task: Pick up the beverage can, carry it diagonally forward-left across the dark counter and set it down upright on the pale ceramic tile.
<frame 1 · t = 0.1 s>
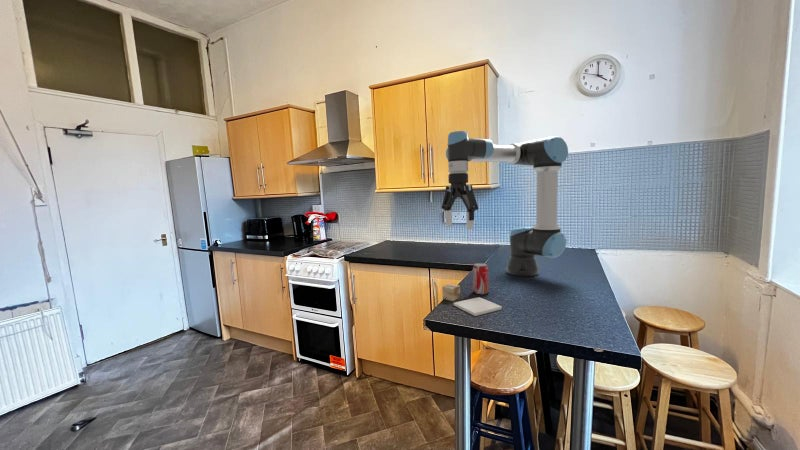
hand: (458, 227, 124), 28 cm above the worktop, fingers open, 13 cm apart
tile: (477, 307, 114), on the worktop
oak block: (451, 298, 125), on the worktop
beverage can: (480, 293, 130), on the worktop
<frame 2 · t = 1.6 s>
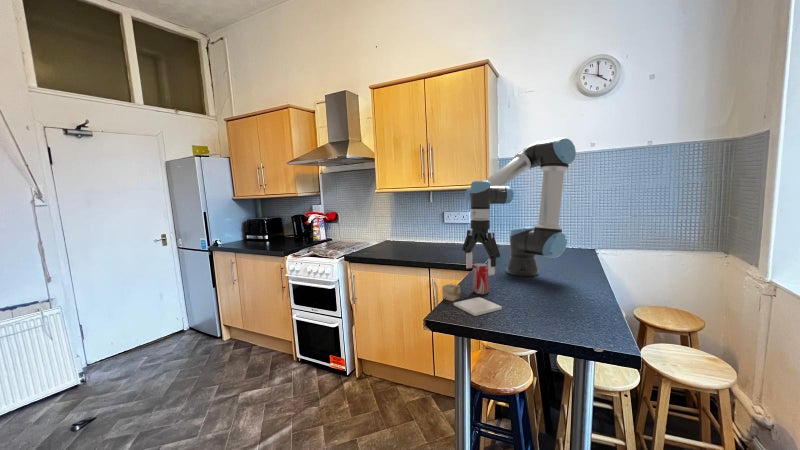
hand: (479, 271, 129), 9 cm above the worktop, fingers open, 13 cm apart
nothing on the worktop moved.
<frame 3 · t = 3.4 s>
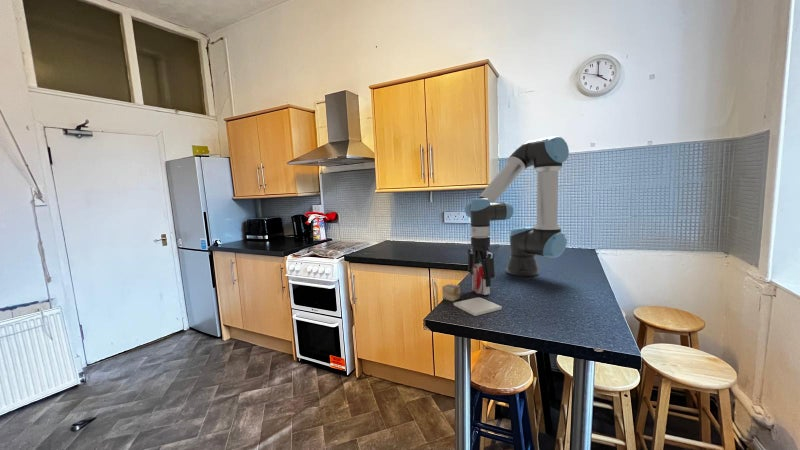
hand: (480, 291, 130), 0 cm above the worktop, fingers closed on beverage can, 6 cm apart
beverage can: (480, 293, 130), on the worktop, touching gripper
everything else where it was.
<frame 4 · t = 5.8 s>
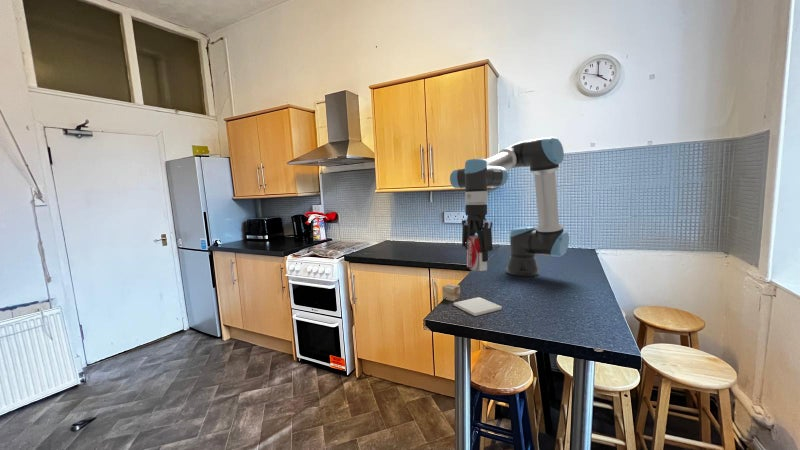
hand: (476, 268, 113), 14 cm above the worktop, fingers closed on beverage can, 6 cm apart
beverage can: (476, 270, 113), point 14 cm above the worktop, touching gripper
everything else where it was.
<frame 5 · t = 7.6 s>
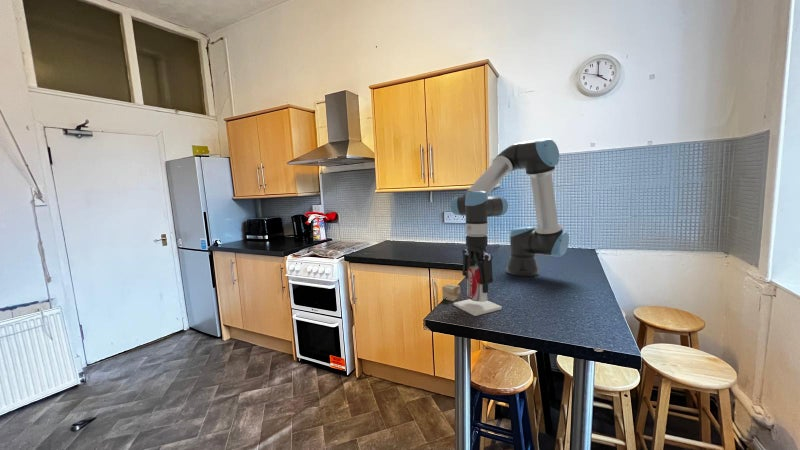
hand: (477, 298, 114), 3 cm above the worktop, fingers closed on beverage can, 6 cm apart
beverage can: (476, 300, 114), point 3 cm above the worktop, touching gripper
everything else where it was.
when the fingers open (2 cm above the worktop, at t = 8.6 s): beverage can stays where it is, resting on tile.
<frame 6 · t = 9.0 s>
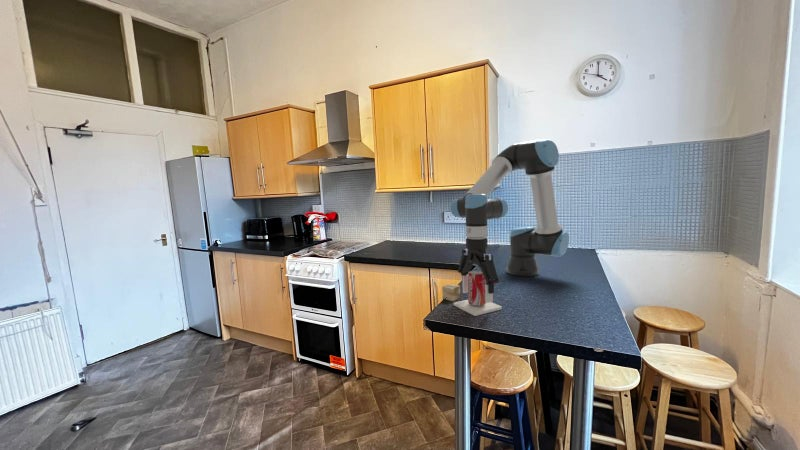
hand: (477, 297, 114), 4 cm above the worktop, fingers open, 12 cm apart
beverage can: (477, 304, 114), point 1 cm above the worktop, touching tile
everything else where it was.
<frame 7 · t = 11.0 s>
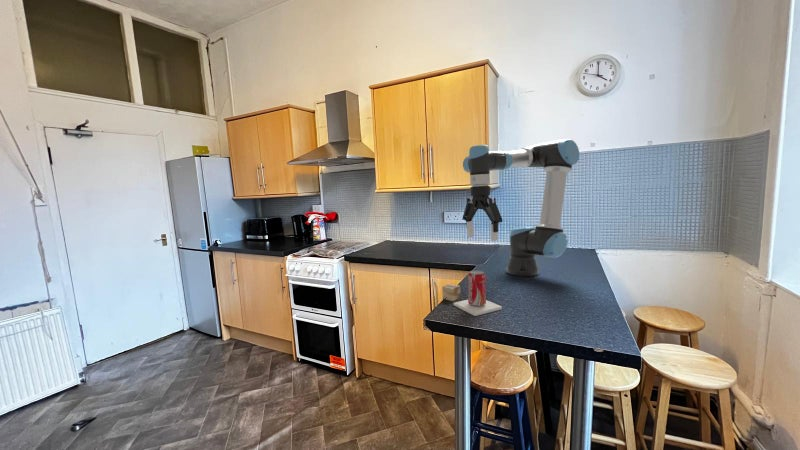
hand: (481, 238, 127), 23 cm above the worktop, fingers open, 13 cm apart
nothing on the worktop moved.
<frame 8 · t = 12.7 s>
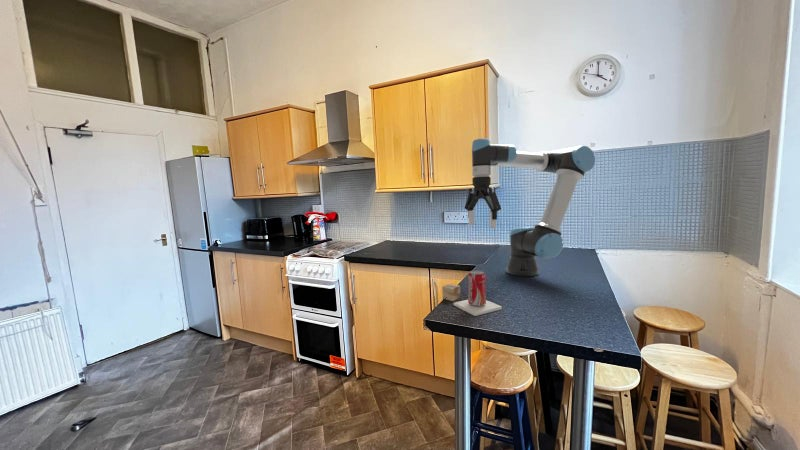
hand: (481, 226, 136), 27 cm above the worktop, fingers open, 13 cm apart
nothing on the worktop moved.
at the end: beverage can inside the target area on the tile (0.1 cm from its centre), point 0.8 cm above the tile's base; beverage can tilted 0°; the gripper is holding nothing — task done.
